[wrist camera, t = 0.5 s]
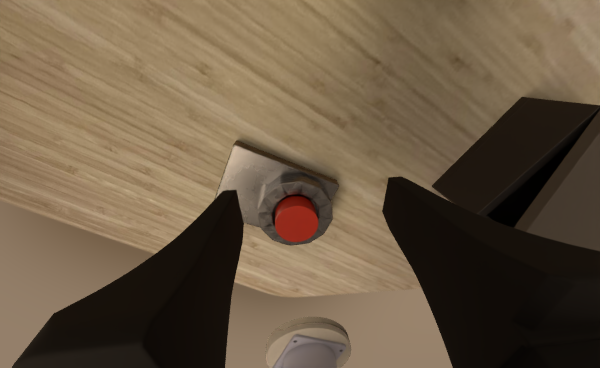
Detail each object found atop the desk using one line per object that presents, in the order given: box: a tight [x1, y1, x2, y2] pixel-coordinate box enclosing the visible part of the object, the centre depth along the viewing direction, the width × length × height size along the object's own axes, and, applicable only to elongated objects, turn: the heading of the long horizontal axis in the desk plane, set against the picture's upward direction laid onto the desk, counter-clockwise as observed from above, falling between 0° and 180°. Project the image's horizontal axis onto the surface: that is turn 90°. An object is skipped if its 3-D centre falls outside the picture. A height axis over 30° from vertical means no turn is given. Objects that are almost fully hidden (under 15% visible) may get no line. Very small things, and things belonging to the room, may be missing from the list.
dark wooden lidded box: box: [432, 97, 600, 228], centre depth 22 cm, size 11×12×6 cm
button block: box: [215, 141, 339, 245], centre depth 22 cm, size 10×7×3 cm
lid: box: [514, 110, 600, 251], centre depth 18 cm, size 11×12×1 cm
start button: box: [275, 196, 318, 242], centre depth 21 cm, size 4×4×2 cm
